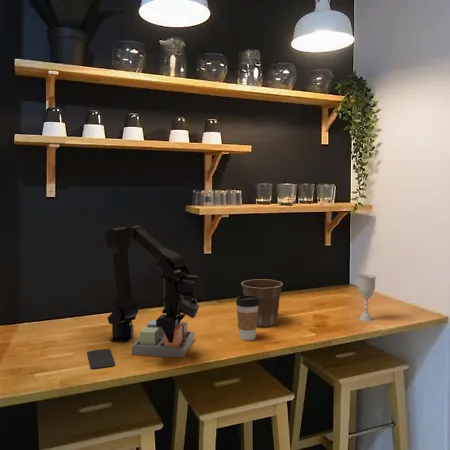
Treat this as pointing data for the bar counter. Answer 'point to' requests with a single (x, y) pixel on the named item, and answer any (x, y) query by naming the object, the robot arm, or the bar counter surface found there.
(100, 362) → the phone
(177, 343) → the terracotta block
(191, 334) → the grid tray
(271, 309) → the plant pot
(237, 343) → the bar counter surface
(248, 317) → the coffee cup
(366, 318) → the chalice
